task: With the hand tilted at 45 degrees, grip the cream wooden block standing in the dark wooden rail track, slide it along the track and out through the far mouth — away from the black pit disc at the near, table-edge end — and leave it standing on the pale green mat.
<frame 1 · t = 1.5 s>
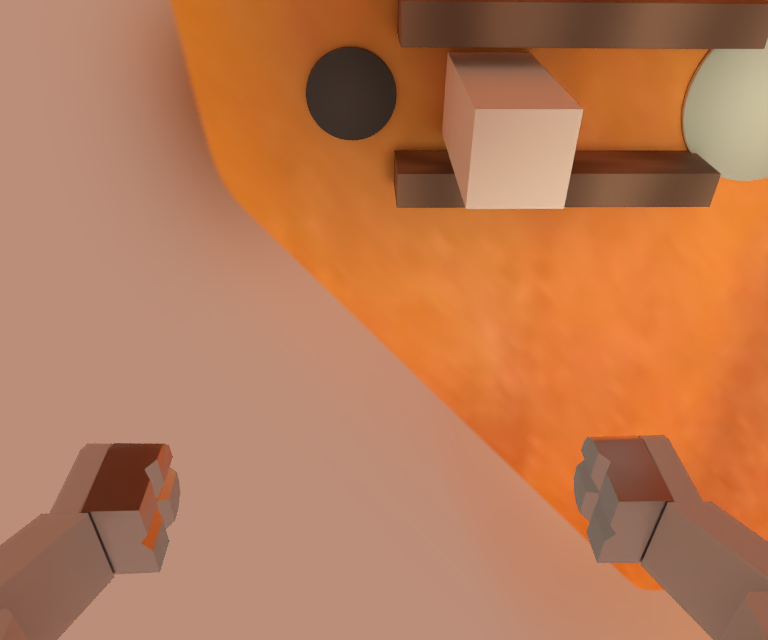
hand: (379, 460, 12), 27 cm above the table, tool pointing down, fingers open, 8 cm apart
block: (484, 94, 35), on the table
track: (554, 95, 35), on the table
pit disc: (351, 94, 35), on the table
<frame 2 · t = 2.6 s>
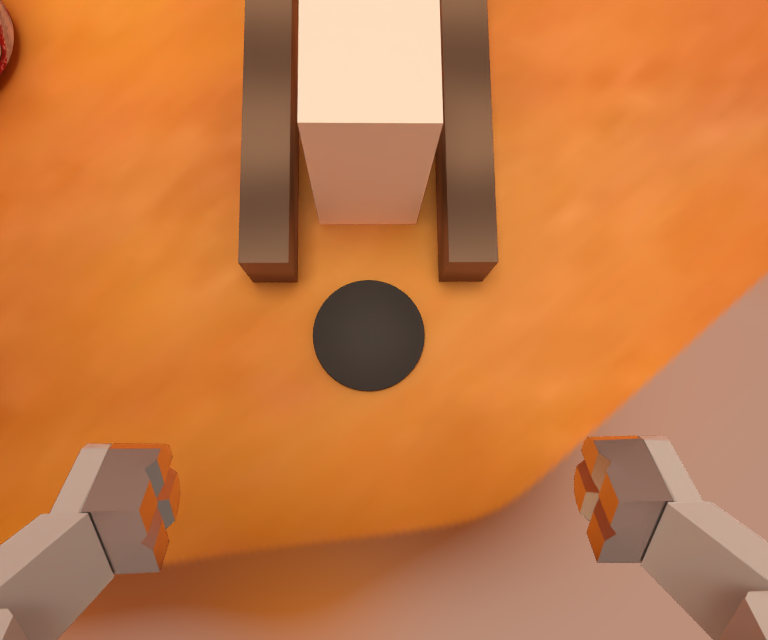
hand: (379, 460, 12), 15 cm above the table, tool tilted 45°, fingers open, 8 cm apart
block: (367, 178, 29), on the table
track: (366, 99, 30), on the table
pit disc: (368, 335, 28), on the table
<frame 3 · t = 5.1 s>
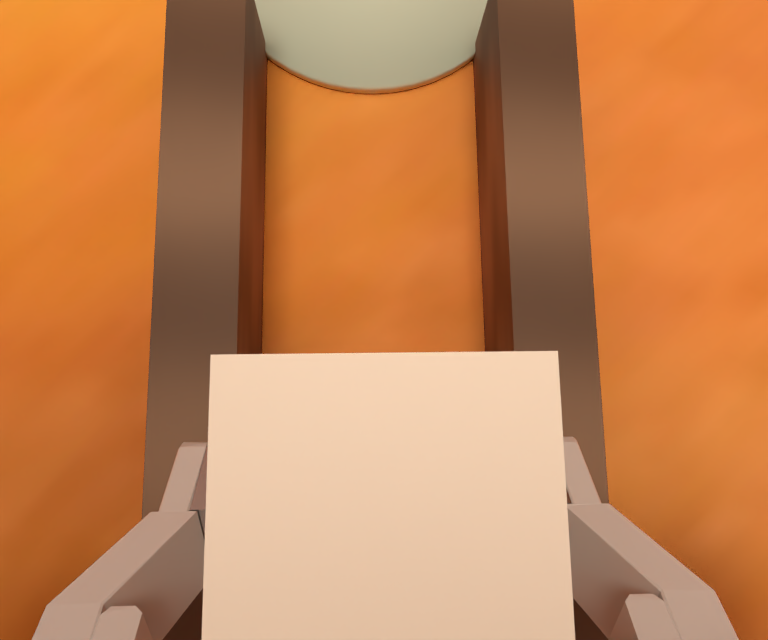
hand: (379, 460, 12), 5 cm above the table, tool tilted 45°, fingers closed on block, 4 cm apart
block: (375, 472, 18), on the table, touching gripper
track: (373, 331, 18), on the table
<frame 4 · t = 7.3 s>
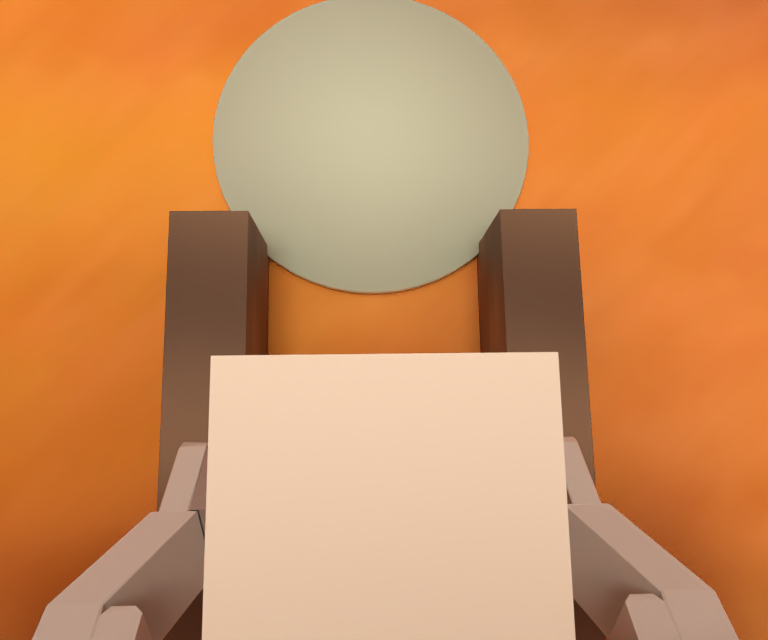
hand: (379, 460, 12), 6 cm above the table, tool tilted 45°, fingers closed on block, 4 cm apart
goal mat: (371, 142, 20), on the table
block: (375, 472, 18), point 1 cm above the table, touching gripper
track: (377, 547, 18), on the table
when the fingers open (6 cm above the table, at t = 9.5 s): block stays where it is, resting on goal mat.
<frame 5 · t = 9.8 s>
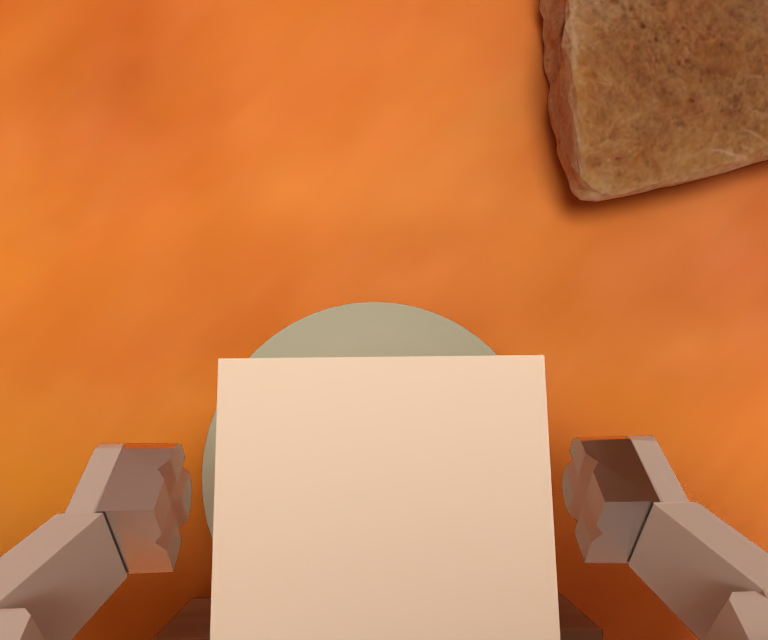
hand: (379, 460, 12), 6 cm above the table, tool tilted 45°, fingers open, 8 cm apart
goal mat: (375, 469, 18), on the table
block: (373, 470, 18), resting on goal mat
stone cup: (710, 18, 22), on the table
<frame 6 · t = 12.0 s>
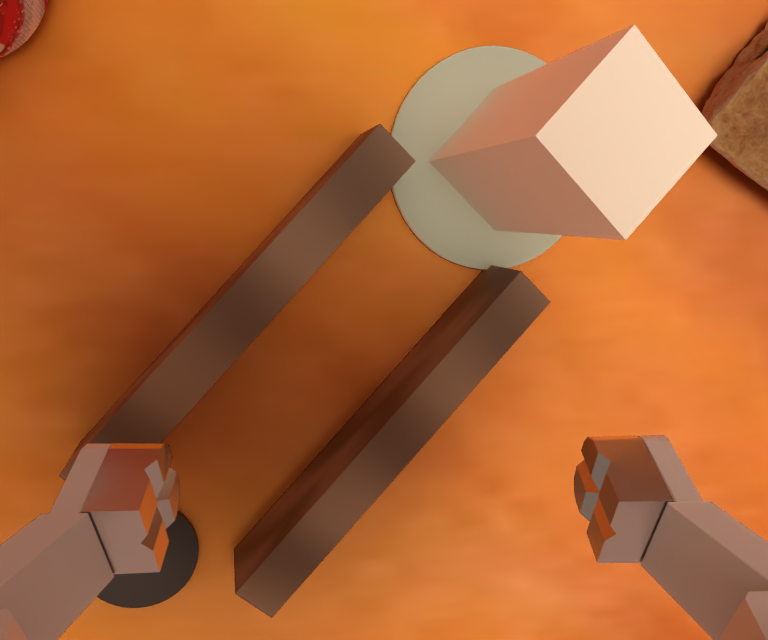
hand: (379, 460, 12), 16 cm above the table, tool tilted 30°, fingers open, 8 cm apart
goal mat: (491, 161, 29), on the table
block: (494, 160, 29), resting on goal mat
track: (311, 362, 28), on the table
pit disc: (140, 553, 28), on the table
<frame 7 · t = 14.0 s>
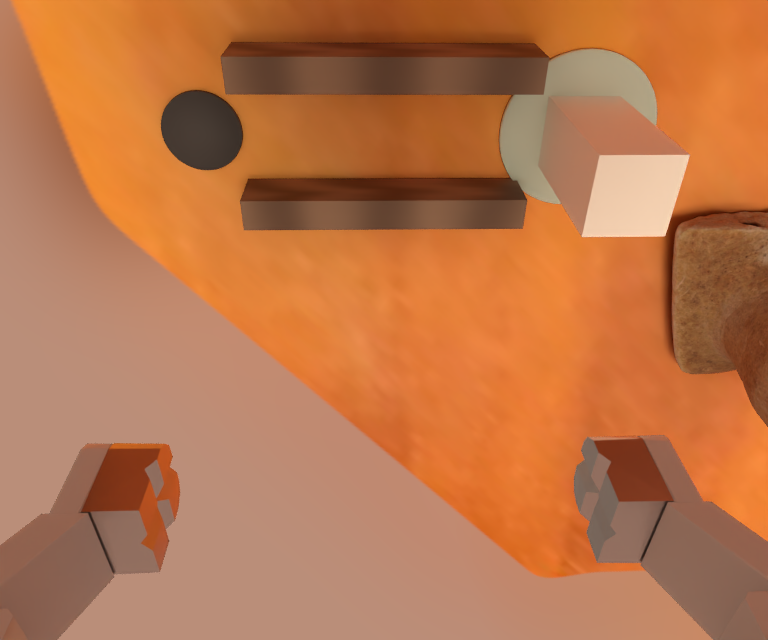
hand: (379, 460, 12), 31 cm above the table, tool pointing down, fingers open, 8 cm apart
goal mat: (576, 130, 40), on the table
block: (577, 131, 40), resting on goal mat
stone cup: (739, 280, 48), on the table
track: (383, 130, 40), on the table
pit disc: (202, 130, 40), on the table
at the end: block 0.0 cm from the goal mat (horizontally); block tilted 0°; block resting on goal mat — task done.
